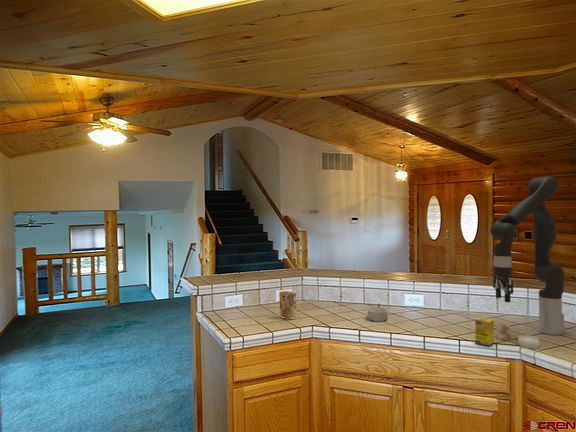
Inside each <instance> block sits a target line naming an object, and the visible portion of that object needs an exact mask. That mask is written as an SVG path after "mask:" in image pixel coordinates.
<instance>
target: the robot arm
mask: <svg viewBox="0 0 576 432" xmlns="http://www.w3.org/2000/svg"><path fill="white" fill-rule="evenodd" d="M527 186H528V187H527V190H528V195H529V196H528V197H526V198H525V199H523V200H521V201H519V202H518V203H517V204H516V205H514V206H513V207H512V208H511V209H510V210H509V211H508V212H507V213H506V214H505V215H503V216H502V217H500V218H499V219H498V220H496V221H495V222H493V223H492V225H491V227H490V229H489V230H490V231H489V232H490V234H491V235H492V236H493V237H494V238H498V239H499V238H500V241H499V242H497V243H495V244H494V246H493V276H492V277H493V278H492V288H493V289H494V290H495V298H496V299H501V298H502V291H503V293H504V303H511V295H513V294H514V281H513V280H510V279H509V278H510V277H512V276H513V259H512V246H513V243H514V241H515V240H514V239H515V235H516V228H515V227H516V226H519V225H520V224H521V223H523V221H524V220H525V219H526V218H527V217H528V216H529V215H530V214H532V216H531V217H532V227H533V230H532V231H533V238H534V254H535V255H534V275H535V277H536V279H537V280H538V281H540V282H543V283H545V288H543V289H539V290H538V330H539V332H540V333H542V334H544V335H545V334H546V335H551V336H561V335H565V314H564V313H563V297H562V296H563V293H564V292H565V271H564V269H563V268H562V266H560V265H558V264H552V263H551V260H550V259H551V256H550V255H551V250H552V247H553V246H554V244H555V242H556V239H557V224H556V221H555V219H554V217H553V216H552V214H551V213H550V212H549V210H548V208H547V207H546V203H545V201H546V200H548V199H549V198H551V197H553V195H555V194H556V193H557V191H558V189H559V182H558V181H557V178H555V177H552V176H541V177H534V178H531V179H530V180H529V182H528V185H527Z"/></svg>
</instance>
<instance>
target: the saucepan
mask: <svg viewBox="0 0 576 432" xmlns="http://www.w3.org/2000/svg"><path fill="white" fill-rule="evenodd" d="M366 310H367V319H369V320H370V321H372V320H373V322H377V321H381V322H385V321H386V320H388V311H389V310H388V308H385V307H381V303H378V304H377V306H372V307H368V308H366ZM384 320H385V321H384Z"/></svg>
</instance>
